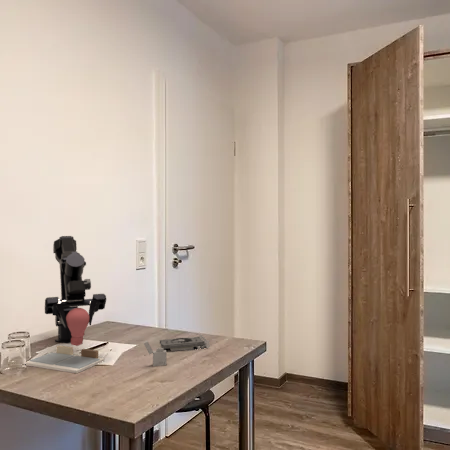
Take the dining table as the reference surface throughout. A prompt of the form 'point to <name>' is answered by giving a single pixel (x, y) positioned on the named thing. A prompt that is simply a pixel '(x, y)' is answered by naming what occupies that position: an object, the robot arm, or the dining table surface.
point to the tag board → (67, 360)
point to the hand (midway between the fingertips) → (78, 325)
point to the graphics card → (185, 343)
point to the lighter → (156, 355)
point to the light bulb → (77, 324)
